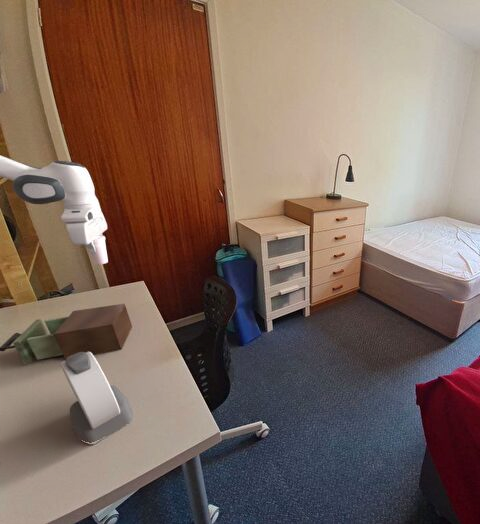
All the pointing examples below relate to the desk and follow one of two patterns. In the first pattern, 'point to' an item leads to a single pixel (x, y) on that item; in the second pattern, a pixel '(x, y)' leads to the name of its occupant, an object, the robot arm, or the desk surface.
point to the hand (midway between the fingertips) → (96, 249)
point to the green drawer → (36, 341)
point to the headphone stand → (94, 399)
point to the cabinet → (94, 330)
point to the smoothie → (99, 251)
